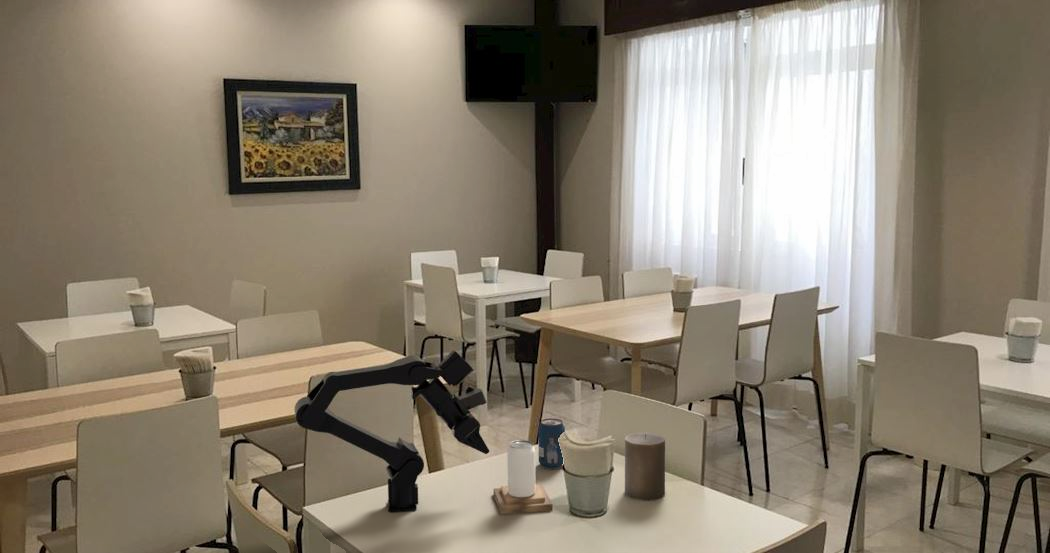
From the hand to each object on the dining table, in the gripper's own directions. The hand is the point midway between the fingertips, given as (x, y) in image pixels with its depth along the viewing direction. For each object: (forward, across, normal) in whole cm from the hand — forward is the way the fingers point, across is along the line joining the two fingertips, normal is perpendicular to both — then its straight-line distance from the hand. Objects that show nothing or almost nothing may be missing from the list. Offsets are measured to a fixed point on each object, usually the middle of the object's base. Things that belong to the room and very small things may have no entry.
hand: (484, 448), depth 202 cm
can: (+13, -2, +1) cm, 14 cm away
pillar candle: (+35, -2, -21) cm, 41 cm away
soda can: (+21, +21, -10) cm, 32 cm away
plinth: (+15, -1, +2) cm, 15 cm away
